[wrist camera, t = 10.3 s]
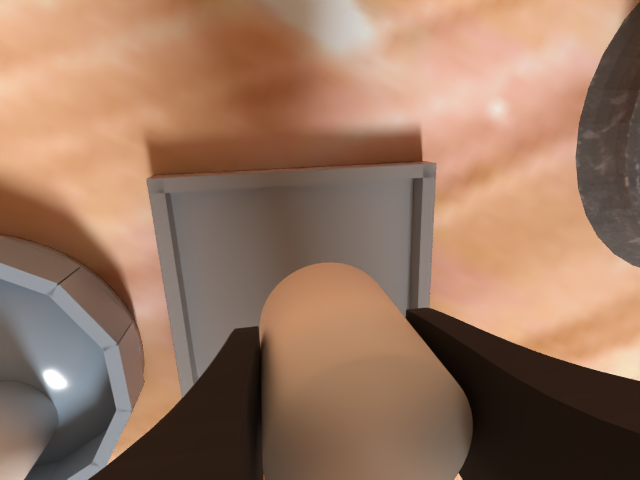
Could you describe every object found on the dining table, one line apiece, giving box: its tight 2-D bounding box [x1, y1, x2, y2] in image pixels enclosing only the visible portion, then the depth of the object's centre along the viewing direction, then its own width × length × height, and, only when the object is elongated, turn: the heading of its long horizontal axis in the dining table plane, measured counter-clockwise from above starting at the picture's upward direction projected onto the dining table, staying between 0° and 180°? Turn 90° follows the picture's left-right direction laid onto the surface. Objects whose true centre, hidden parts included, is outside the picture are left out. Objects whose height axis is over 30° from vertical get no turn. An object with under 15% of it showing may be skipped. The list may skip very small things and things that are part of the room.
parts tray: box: [147, 161, 436, 398], centre depth 19 cm, size 15×12×1 cm
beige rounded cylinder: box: [260, 262, 473, 480], centre depth 9 cm, size 4×4×5 cm
